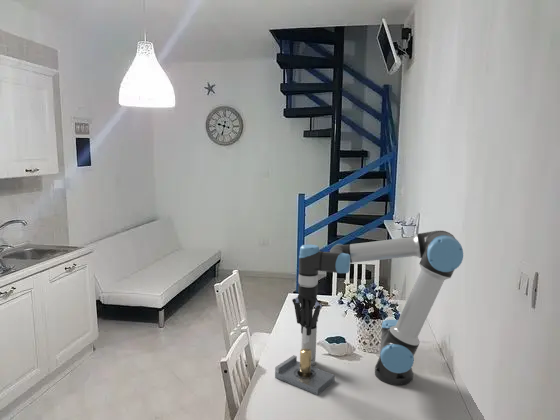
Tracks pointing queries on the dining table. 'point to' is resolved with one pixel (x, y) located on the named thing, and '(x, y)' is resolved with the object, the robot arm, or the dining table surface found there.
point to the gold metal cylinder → (305, 362)
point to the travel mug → (311, 344)
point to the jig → (313, 384)
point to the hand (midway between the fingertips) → (305, 342)
